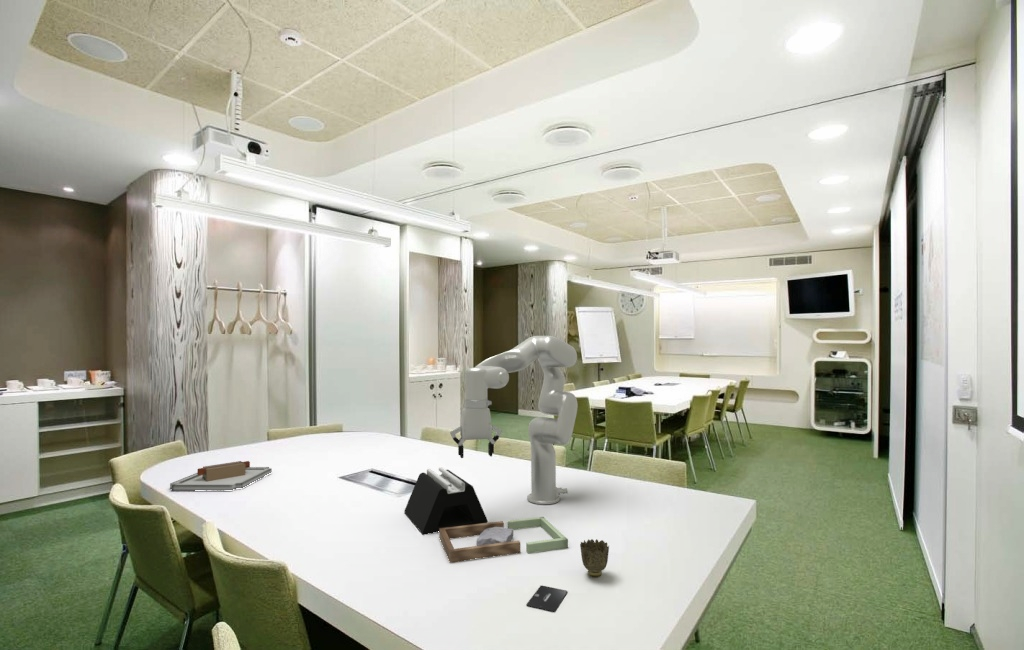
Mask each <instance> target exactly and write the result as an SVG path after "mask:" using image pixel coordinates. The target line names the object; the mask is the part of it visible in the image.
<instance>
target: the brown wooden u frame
mask: <svg viewBox="0 0 1024 650" xmlns="http://www.w3.org/2000/svg"><path fill="white" fill-rule="evenodd" d="M493 527H504V528H505V522H504V520H500V521H491V522H490V521H489V522H487V523H481V524H473V525H464V526H456V527H447V528H439V532H438V539H439V538H440V539H439V541H440V540H441V541H440V543H441V546H442V545H443V546H442V547H444V548H443V550H444V553H445V552H446V553H445V555H446V554H447V555H446V557H447V556H448V557H447V560H448V559H449V560H448V561H450V562H452V563H458V561H459V562H465V561H464V560H466V561H471V560H470V559H474V560H476V559H475V558H481V559H484V558H483V557H488V558H494V557H493V556H495V557H501V556H500V555H502V556H507V554H509V555H515V554H516V553H517V554H521V541H520V540H512V541H510V542H503V543H495V544H488V545H480V546H477V545H475V546H468V547H467V546H465V547H459V548H458V547H457V548H455V547H454V545H453V544H452V542H451V539H450V538H453V539H459V537H461V538H466V537H467V536H469V537H475V536H474V535H477V536H480V534H481V533H482V532H483V531H484V530H485V529H488V528H493ZM467 538H468V537H467ZM450 562H449V563H450Z"/></svg>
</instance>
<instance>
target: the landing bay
mask: <svg viewBox="0 0 1024 650" xmlns="http://www.w3.org/2000/svg"><path fill="white" fill-rule="evenodd" d="M536 527H537V528H538V527H541V528H542V529H543V530H544V531H545V532H546V534H548V535H549V536H550V537H551V539H550V538H549V539H543V540H536V541H528V542H526V545H525V546H526V553H527V554H534V553H539V552H540V553H541V552H542V553H543V552H547V551H555V550H556V551H557V550H562V549H563V550H564V549H568V548H569V539H568V538H567V537H566V536H565V535H564V534H563V532H561V531H560V530H558V528H556V527H555V526H554V525H553V524H552V523H551V522H550V521H549V520H547V518H545V516H537V517H528V518H522V519H513V520H512V519H511V520H507V528H508V529H513V531H514V530H515V531H516V530H522V529H529V528H536Z"/></svg>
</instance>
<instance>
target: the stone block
mask: <svg viewBox="0 0 1024 650" xmlns="http://www.w3.org/2000/svg"><path fill="white" fill-rule="evenodd" d="M513 539H514V530H513V529H508V527H505V526H504V527H493V528H488V529H485V530H484V531H483V532H482V533H481V534H480V535H478V536H477V538H476V541H475V542H476V543H475V544H476V545H475V546H480V545H488V544H495V543H503V542H510V541H513Z"/></svg>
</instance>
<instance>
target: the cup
mask: <svg viewBox="0 0 1024 650" xmlns="http://www.w3.org/2000/svg"><path fill="white" fill-rule="evenodd" d="M579 545H580V546H579V547H580V552H581V561H582V565H583V567H584V568H585V569H586V570H587V574H588V576H589V577H591V578H594V579H596V578H600V577H601V576H602V575H603V571H604V570H605V569H606V567H607V565H608V559H609V550H610V545H608V542H606V541H604V540H600V541H599V539H595V540H594V539H592V538H591V539H589V538H588V539H587V541H586V540H585V539H584V540H583V541H580V544H579Z"/></svg>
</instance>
